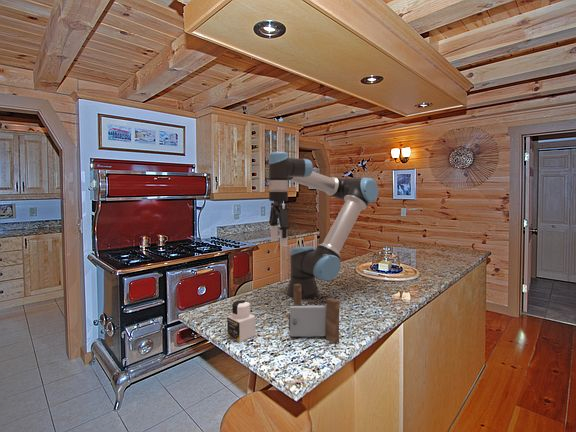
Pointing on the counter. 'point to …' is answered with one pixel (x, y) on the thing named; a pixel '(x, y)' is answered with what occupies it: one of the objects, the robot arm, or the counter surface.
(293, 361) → the counter surface
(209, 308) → the counter surface
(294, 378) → the counter surface
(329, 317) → the doorframe
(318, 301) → the counter surface
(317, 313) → the door
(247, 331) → the medicine bottle
